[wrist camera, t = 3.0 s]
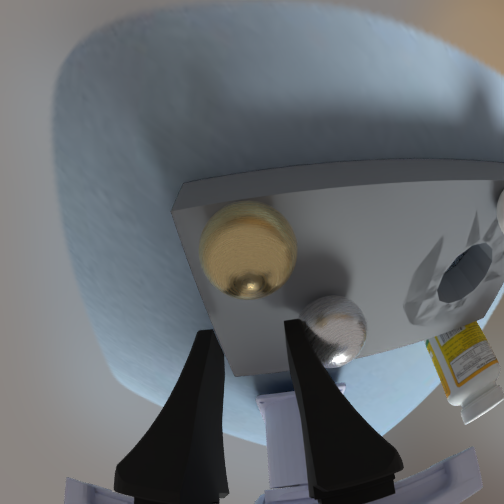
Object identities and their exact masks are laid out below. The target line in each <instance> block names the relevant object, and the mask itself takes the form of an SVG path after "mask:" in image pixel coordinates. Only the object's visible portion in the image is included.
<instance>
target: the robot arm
mask: <svg viewBox="0 0 504 504" xmlns="http://www.w3.org/2000/svg"><path fill="white" fill-rule="evenodd" d="M284 329H285V339H286V348H287V356H288V363H289V369H290V374H291V378H292V382H293V386H294V391H290V392H283V393H275V394H266V395H258V396H257V397H256V402H257V405H258V407H259V410H260V412H261V415H262V417H263V420H264V422H265V425H266V440H267V454H268V468H269V483H270V488H282V489H273V490H265V494H262V495H261V496H260V497H259V498H258V499H257V500H256V501H255V503H254V504H459V503H461V502H462V501H464V500H465V499H467V498H468V497H470V496H471V495H473V494H474V493H476V492H477V491H479V490H480V489H481V488H482V487H483V484H482V479H481V474H480V469H479V465H478V460H477V456H476V452H475V448H474V447H473V446H472V447H470V448H468V449H466V450H464V451H462V452H460V453H458V454H455V455H453V456H450V457H448V458H446V459H444V460H442V461H440V462H438V463H436V464H434V465H432V466H430V468H428V469H426V470H424V471H422V472H419V473H417V474H415V475H412V476H410V477H407V478H405V479H402V480H400V481H397V482H394V481H393V479H395V475H394V473H396V472H399V471H401V470H403V468H404V467H403V462H402V459H401V457H400V455H399V453H398V452H397V450H396V449H395V448H394V447H393V446H392V445H391V444H390V443H388V442H387V441H386V440H385V439H384V438H383V437H382V436H381V435H380V434H378V433H377V432H376V431H375V430H374V429H373V428H372V427H371V426H370V425H369V424H368V423H367V422H366V420H365V419H364V418H363V417H362V416H361V415H360V414H359V413H358V412H357V411H356V410H355V408H354V407H353V406H352V405H351V404H350V402H349V401H348V400H347V399H346V398H345V396H344V395H343V394H344V391H345V389H346V384H345V383H337V384H335V383H334V381H333V380H332V378H331V377H330V375H329V374H328V372H327V371H326V369H325V368H324V366H323V364H322V363H321V361H320V359H319V357H318V356H317V354H316V352H315V350H314V349H313V347H312V345H311V343H310V341H309V339H308V336H307V334H306V332H305V330H304V327H303V324H302V321H301V320H300V319H292V320H285V321H284ZM224 381H225V368H224V353H223V351H222V349H221V347H220V345H219V342H218V340H217V338H216V336H215V333H214V331H213V329H211V330H199V331H198V332H197V335H196V337H195V340H194V343H193V346H192V348H191V351H190V354H189V356H188V359H187V361H186V363H185V366H184V368H183V370H182V372H181V375H180V377H179V379H178V381H177V383H176V385H175V387H174V389H173V391H172V393H171V395H170V397H169V398H168V400H167V402H166V404H165V405H164V407H163V409H162V410H161V412H160V414H159V415H158V417H157V418H156V420H155V421H154V422H153V424H152V425H151V427H150V428H149V430H148V431H147V432H146V434H145V435H144V436H143V437H142V439H141V440H140V441H139V442H138V443H137V445H136V446H135V447H134V448H133V449H132V450H131V451H130V452H129V453H128V454H127V456H125V458H124V459H123V460H122V461H121V462H120V463H119V464H118V465H117V467H116V471H115V479H114V490H115V491H116V492H118V493H116V492H112V491H111V490H109V489H106V488H103V487H99V486H97V485H93V484H89V483H84V482H81V481H78V480H76V479H72V478H69V477H67V478H66V488H65V501H64V504H219V498H225V497H226V496H227V495H228V494H229V489H228V482H227V476H226V467H225V459H224V447H223V432H222V413H223V397H224ZM287 487H290V488H287ZM119 493H121V494H119ZM123 494H124V495H123ZM127 495H128V496H127ZM131 496H132V497H131Z"/></svg>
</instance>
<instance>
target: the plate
mask: <svg viewBox="0 0 504 504" xmlns="http://www.w3.org/2000/svg"><path fill="white" fill-rule="evenodd" d="M503 190H504V163H501V162H489V161H475V160H455V159H382V160H360V161H344V162H331V163H319V164H309V165H299V166H290V167H281V168H273V169H266V170H258V171H251V172H244V173H238V174H232V175H226V176H220V177H214V178H208V179H203V180H197V181H192V182H187V183H183V185H182V187H181V190H180V192H179V194H178V196H177V198H176V201H175V203H174V205H173V207H172V210H171V214H172V217H173V220H174V223H175V226H176V229H177V232H178V234H179V237H180V240H181V243H182V246H183V249H184V252H185V255H186V257H187V260H188V263H189V266H190V268H191V271H192V274H193V276H194V279H195V282H196V284H197V287H198V290H199V292H200V295H201V297H202V300H203V303H204V305H205V308H206V310H207V313H208V315H209V318H210V320H211V322H212V325H213V327H214V330H215V332H216V335H217V337H218V339H219V342H220V344H221V346H222V349H223V351H224V353H225V356H226V358H227V360H228V362H229V365H230V367H231V369H232V371H233V374H234V376H235V377H237V376H249V375H259V374H268V373H277V372H284V371H290V369H289V363H288V356H287V348H286V339H285V329H284V321H285V320H292V319H298V317H299V315H300V313H301V312H302V310H303V309H304V308H305V307H306V306H307V305H308V304H309V303H311V302H312V301H314V300H316V299H318V298H320V297H323V296H329V295H336V296H342V297H345V298H347V299H349V300H351V301H353V302H354V303H355V304H356V305H357V306H358V307H359V308H360V309H361V310H362V312H363V314H364V316H365V318H366V322H367V330H368V331H367V339H366V342H365V345H364V347H363V349H362V350H361V352H360V353H359V355H358V356H357V357H356V358H354V359H357V358H361V357H365V356H370V355H374V354H378V353H382V352H385V351H389V350H393V349H396V348H400V347H403V346H407V345H410V344H413V343H417V342H420V341H423V340H426V339H429V338H432V337H435V336H438V335H441V334H443V333H446V332H449V331H452V330H454V329H457V328H460V327H462V326H465V325H467V324H470V323H472V322H475V321H477V320H479V319H482V318H484V316H485V315H486V313H487V311H488V310H489V308H490V306H491V304H492V303H493V301H494V299H495V297H496V296H497V294H498V292H499V290H500V288H501V286H502V284H503V283H504V234H503V232H502V230H501V228H500V226H499V223H498V219H497V203H498V199H499V196H500V194H501V193H502V191H503ZM240 201H256V202H261V203H264V204H267V205H269V206H271V207H273V208H274V209H276V210H277V211H279V212H280V213H281V214H282V215H283V216H284V217H285V218H286V219H287V221H288V222H289V223H290V225H291V227H292V229H293V231H294V233H295V236H296V240H297V247H298V250H297V260H296V265H295V267H294V270H293V272H292V274H291V276H290V278H289V279H288V280H287V282H286V283H285V284H284V285H283V286H282V287H281V288H280V289H278V290H277V291H276V292H274V293H272V294H271V295H268V296H266V297H263V298H260V299H255V300H242V299H236V298H233V297H230V296H228V295H226V294H224V293H222V292H220V291H219V290H218V289H216V288H215V287H214V286H213V285H212V284H211V283H210V281H209V280H208V279H207V277H206V276H205V274H204V272H203V270H202V267H201V264H200V260H199V251H198V250H199V240H200V237H201V233H202V231H203V229H204V227H205V225H206V224H207V222H208V220H209V219H210V218H211V217H212V216H213V215H214V214H215V213H216V212H217V211H219V210H220V209H222V208H223V207H225V206H227V205H229V204H232V203H235V202H240ZM466 250H467V252H466V253H465V255H464V256H463V257H462V259H461V260H460V261H459V263H458V264H457V265H456V266H455V267H453V268H452V269H450V270H449V271H448V272H446V270H447V269H448V268H449V267H450V265H451V264H452V263H453V262H454V260H455V259H456V258H457V257H458V256H459V255H461V254H462V253H463V252H465V251H466ZM445 272H446V273H445ZM444 273H445V274H444Z"/></svg>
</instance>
